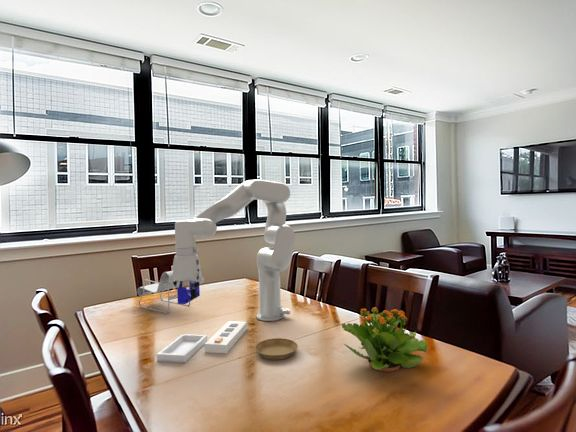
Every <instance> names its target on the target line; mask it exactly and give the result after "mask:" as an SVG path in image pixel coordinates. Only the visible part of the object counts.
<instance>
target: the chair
mask: <svg viewBox="0 0 576 432" xmlns="http://www.w3.org/2000/svg"><path fill="white" fill-rule="evenodd" d="M172 274H173V270H170V271H164V272H162V274H161V276H160V280H159V281H154V280H150V279H146V278H144V279H143V280H142V286H140V287H138V288H137V295H138V296H139V297H140V298H139V300H138V306H139V308H142V309H147V310H151V311H155V312H160V313H165V314H169V313H170V303H171V304H176V305H181V306H186V307H190V306H191V301H190V302H188V304H187V303H186V304H178V302H174V301H173V300H175V299H178V296H177V294H174V295H171V296H170V290H172V289H177V288H176V286H175V285H174V284H173V283H172V282H171V281H170V280H169V279H170V277H171V276H172ZM145 281H146V282H151V284H148V285H145ZM190 285H191V283H190V282H188V288H190ZM165 291H167V300H165V299H163V298H162V295H163V293H164V292H165ZM160 292H161V293H160ZM158 293H160V295H159V300H161V302H165V303H167V309H168V310H167V311H166V310H165V311H164V310H160V309H155V308H151V307H146V306H142V305H141V300H142V298H143V297H144V296H147V295H152V294H158ZM171 300H172V301H171Z"/></svg>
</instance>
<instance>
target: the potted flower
mask: <svg viewBox="0 0 576 432" xmlns="http://www.w3.org/2000/svg"><path fill="white" fill-rule="evenodd" d="M370 312H372V313H370ZM360 315H361V316H363V318H364V321H365V323H363V324H362V323H360V324H358V323H356V322H354V323H349V322H348V323H347V324H346V323H344V322H343V323H341V327H342V329H343V331H345V332H348V333H349V334H351V335H353V336H354V337H356V338H357V339H358V341H360V344H361V347H360V346H358V348H359V349H361V350H365V352H366V354H367V355H364V354H363V353H360V352H359V351H357V350H356V349H354V348H352V347H351V346H349V345H347V344H345V343H343V345H344V346H345V347H346V348H348V349H349V350H350V351H351V352H352V353H354V354H355V355H356V356H358V357H360V358H362V359H363V360H364V359H366V360H367V362H368V365H369V366H370V368H371V369H374V370H376V371H379V372H383V373H384V372H386V373H388V372H395V371H398V370H400V368H401V367H403V368H404V369H406V368H407V369H410V368H415V367H416V366H419V364H420V363H421V361H423V360H424V359H423V357H422V356H421V355H418V354H413V352H416V351H417V352H423V353H427V351H428V341H427V340H423V339H420V340H419V339H418V338H416V337H415V336H417V331H414V332H412V333H410V334H409V333H407V332H405V331H406V330H407V328H404V326H405V325H406V323H407V321H408V318H407V316H405V315H406V314H405V311H403V310H401V309H400V310H398V309H396V308H395V309H391V310H390V311H389V310H388V309H386V310H385V309H384V310H383V311H382V312H380V313H379V310H378V307H376V306H375V307H372V309H371V310H370V311H367V309H366V308H361V309H360ZM399 324H400V327H399V326H398V325H399ZM398 327H399V329H398ZM397 329H398V330H397Z"/></svg>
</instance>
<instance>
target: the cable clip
mask: <svg viewBox="0 0 576 432" xmlns="http://www.w3.org/2000/svg"><path fill="white" fill-rule="evenodd" d="M196 281H197V282H198V281H199V280H196ZM176 289H177V294H176V295H177V296H178V298H177V303H178V304H177V305H180V304H186V305H187V304H189V302H190V303H191V302H192V301H193V300H191V289H192V287H191V284H190V288H189V287H186V286H182V287H178V288H176ZM200 291H201V290H200V285H199V286H198V287H197V296H196V298H195V299H197V298H198V297H200V296H201V295H200Z"/></svg>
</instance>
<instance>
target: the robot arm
mask: <svg viewBox="0 0 576 432" xmlns="http://www.w3.org/2000/svg"><path fill="white" fill-rule="evenodd" d="M290 196H291V189H290V187H289V186H288V185H287V184H286V183H284V182H278V181H272V180H264V179H261V178H260V179H259V178H257V179H248V180H245V181H243V182H242V183H240V184H239V185H238V186H236V187H235V188H234V189H233V190H232V191H231V192H229V193H228V194H227V195H225V196H224V197H223V198H222V199H220V200H218V201H217V202H215V203H214V204H212V205H210V206H208V208H205V209H204V210H203V211H202V212H200V213H199V214H197V215H196V216H195V217H194V218H193V219H180V220H176V221H175V222H174V236H175V237H174V241H175V243H174V244H175V255H174V258H173V262H172V271H173V274H172V276H171V277H170V279H169V280H170V281H171V282H172V283H173V284H174V285H175V286H176V288H175V289H177V288H178V287H183V285H184V282H185V283H187V282H190V285H191V287H192V289H191V300H192V301H193V300H195V299H197V298H196V296H197V287H198V286H199V287H200V285H201V284H202V283H204V282H205V278H204V277H203V275H202V269H201V268H202V267H201V261H200V257H199V255H198V254H197V253H199V251H200V249H198V248H197V247H196V246H197V245H196V239H197V238H198V239H199V238H203V239H208V238H211V237H213V236H214V235H216V233H217V224H216V223H219V222H220V221H223V220H224V219H228V218H231V217H233V216H236V215H237V214H238V213H240V212H241V211H242V209H243V210H244V209H245V208H246V207H247V206H248V205H249V204H250V203H251V202H253V201H255V200H259V201H260V200H261V201H263V202H264V204H265V206H266V209H267V217H266V222H265V227H264V231H263V239H264V241H265V243H268V244H270V245H272V246H273V247H270V246H265V247H262V248H260V249H259V251H258V252H257V254H256V259H255V261H256V266H257V270H258V292H259V293H258V294H259V312H257V313H256V319H257V320H259V321H265V322H274V321H280V320H282V319H283V318H284V317H285V315H291V309H290V308H284V307H283V305H281V301H282V300H281V276H280V272H283V271H286V270H287V269H288V268H289V266H290V263H291V261H292V255H293V250H294V245H295V237H296V235H295V232H294V229H293V228H292V227H291V225H288V224H286V220H287V208H286V206H285V202H287V201H288V200H289V198H290ZM197 281H198V282H197Z"/></svg>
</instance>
